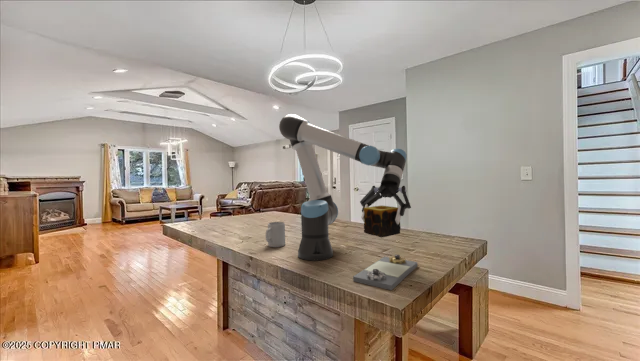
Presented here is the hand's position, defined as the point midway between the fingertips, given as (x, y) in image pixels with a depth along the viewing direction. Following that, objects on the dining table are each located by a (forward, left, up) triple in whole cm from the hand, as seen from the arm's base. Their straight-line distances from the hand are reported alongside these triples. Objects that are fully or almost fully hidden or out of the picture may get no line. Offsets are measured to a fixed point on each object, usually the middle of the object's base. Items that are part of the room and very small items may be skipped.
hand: (379, 221), depth 103 cm
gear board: (+5, -5, -17) cm, 19 cm away
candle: (0, +2, -5) cm, 6 cm away
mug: (-56, 0, -17) cm, 59 cm away
